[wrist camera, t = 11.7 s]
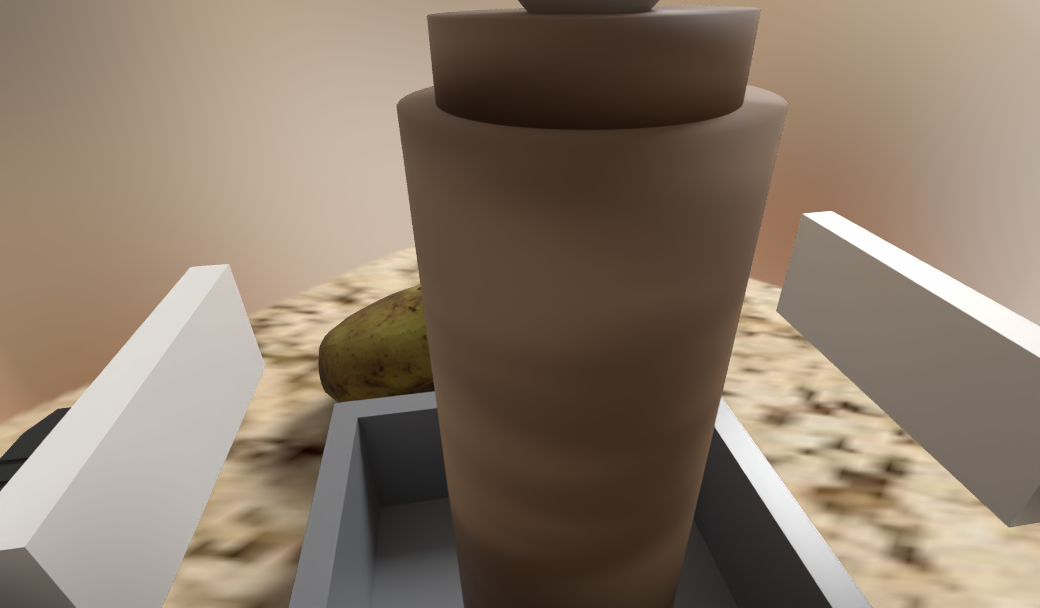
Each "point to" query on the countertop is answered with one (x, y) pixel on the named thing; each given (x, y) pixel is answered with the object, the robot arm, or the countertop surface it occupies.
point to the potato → (379, 351)
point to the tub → (431, 543)
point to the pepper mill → (583, 281)
